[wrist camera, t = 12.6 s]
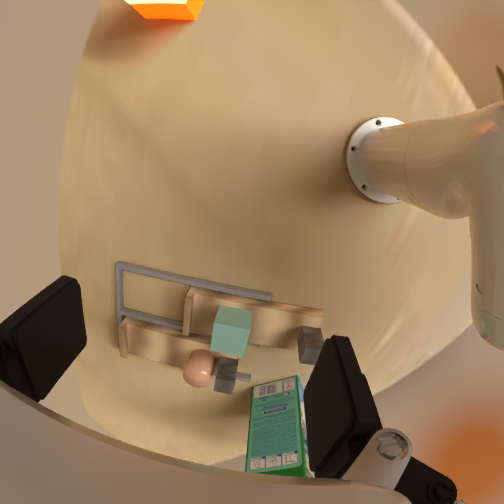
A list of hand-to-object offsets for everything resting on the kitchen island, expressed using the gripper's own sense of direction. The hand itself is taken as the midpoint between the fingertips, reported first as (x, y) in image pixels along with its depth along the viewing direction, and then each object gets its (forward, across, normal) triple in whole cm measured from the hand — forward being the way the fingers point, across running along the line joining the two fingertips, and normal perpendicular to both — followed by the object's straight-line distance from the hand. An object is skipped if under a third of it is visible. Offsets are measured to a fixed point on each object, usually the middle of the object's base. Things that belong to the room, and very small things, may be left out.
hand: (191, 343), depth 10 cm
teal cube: (+30, -1, +18) cm, 35 cm away
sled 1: (+32, +8, +28) cm, 43 cm away
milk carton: (+32, -13, +36) cm, 50 cm away
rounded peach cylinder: (+30, +3, +28) cm, 41 cm away
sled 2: (+32, -4, +18) cm, 37 cm away
